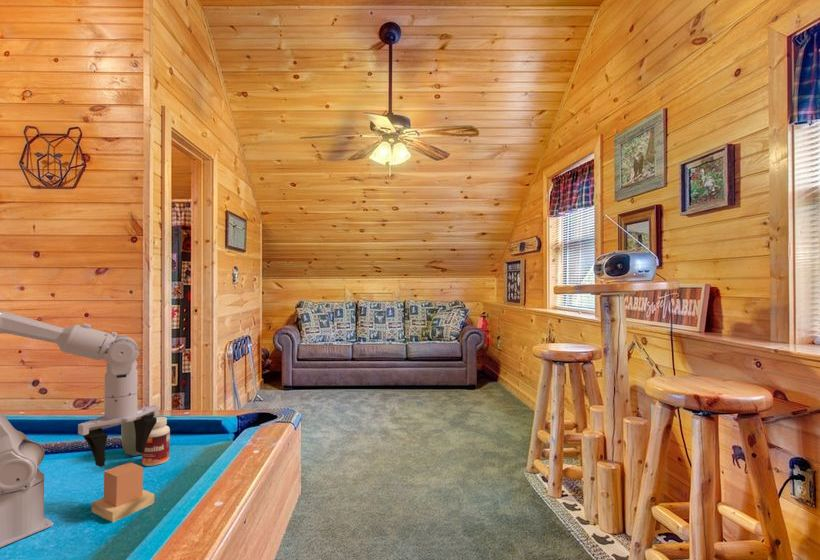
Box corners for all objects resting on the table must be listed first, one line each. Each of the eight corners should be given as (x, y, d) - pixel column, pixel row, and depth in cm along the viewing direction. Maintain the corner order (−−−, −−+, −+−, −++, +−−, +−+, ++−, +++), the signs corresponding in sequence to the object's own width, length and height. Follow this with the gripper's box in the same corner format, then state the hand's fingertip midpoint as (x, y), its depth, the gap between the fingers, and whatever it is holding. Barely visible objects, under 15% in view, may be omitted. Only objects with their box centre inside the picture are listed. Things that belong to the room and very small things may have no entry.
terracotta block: (116, 506, 82) (116, 476, 82) (103, 500, 84) (104, 471, 85) (142, 495, 86) (143, 467, 87) (129, 489, 89) (130, 462, 89)
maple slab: (112, 525, 80) (112, 512, 80) (91, 514, 84) (91, 502, 84) (154, 505, 87) (154, 494, 87) (133, 496, 91) (133, 485, 91)
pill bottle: (138, 468, 103) (138, 424, 104) (146, 458, 109) (146, 417, 109) (166, 465, 105) (166, 422, 105) (172, 455, 111) (172, 414, 111)
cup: (114, 456, 110) (114, 419, 110) (141, 445, 118) (141, 411, 118) (136, 460, 108) (136, 422, 108) (162, 448, 116) (162, 413, 116)
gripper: (90, 405, 78) (89, 476, 78) (166, 388, 91) (166, 449, 91) (73, 400, 82) (72, 468, 81) (149, 384, 94) (148, 443, 94)
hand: (120, 458), depth 86 cm, fingers open, 7 cm apart
